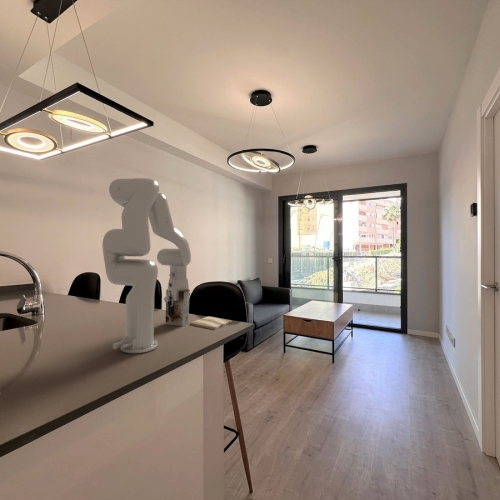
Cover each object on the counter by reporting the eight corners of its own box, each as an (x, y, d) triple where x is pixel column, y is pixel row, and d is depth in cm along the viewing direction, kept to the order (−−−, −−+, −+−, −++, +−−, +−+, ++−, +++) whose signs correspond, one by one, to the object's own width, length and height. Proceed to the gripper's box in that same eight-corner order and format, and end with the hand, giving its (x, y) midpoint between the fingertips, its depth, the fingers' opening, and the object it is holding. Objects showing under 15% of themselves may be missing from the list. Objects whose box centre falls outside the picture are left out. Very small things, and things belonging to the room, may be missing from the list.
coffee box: (164, 324, 133) (165, 289, 132) (171, 321, 139) (172, 287, 139) (182, 326, 130) (183, 291, 130) (189, 322, 137) (189, 288, 136)
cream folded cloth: (214, 329, 127) (214, 327, 127) (189, 324, 134) (189, 322, 134) (231, 322, 139) (231, 320, 139) (208, 318, 146) (208, 316, 146)
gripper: (170, 277, 125) (169, 318, 125) (196, 274, 140) (195, 310, 140) (158, 276, 128) (157, 315, 129) (184, 273, 144) (183, 308, 144)
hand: (177, 312), depth 135 cm, fingers closed on coffee box, 7 cm apart
